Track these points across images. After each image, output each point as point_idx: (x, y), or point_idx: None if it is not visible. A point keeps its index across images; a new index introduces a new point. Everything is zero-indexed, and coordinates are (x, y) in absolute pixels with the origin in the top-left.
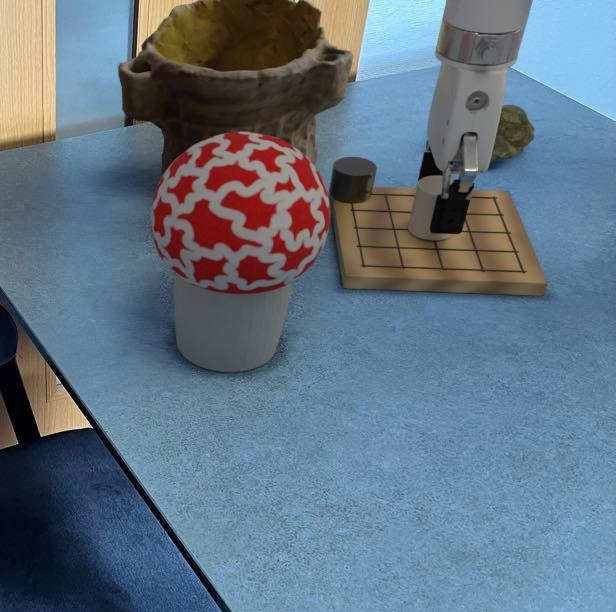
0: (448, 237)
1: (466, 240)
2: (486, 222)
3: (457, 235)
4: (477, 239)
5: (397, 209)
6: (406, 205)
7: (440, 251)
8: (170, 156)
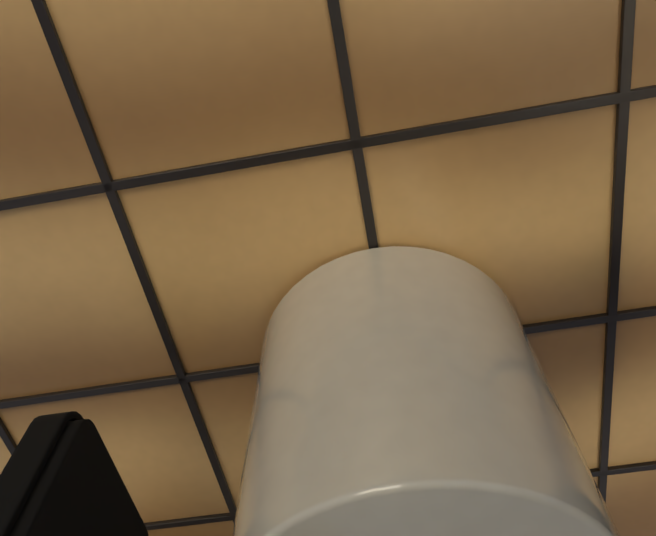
0: (479, 270)
1: (484, 161)
2: (175, 24)
3: (423, 216)
4: (453, 87)
5: (199, 490)
6: (135, 458)
7: (636, 299)
8: None
